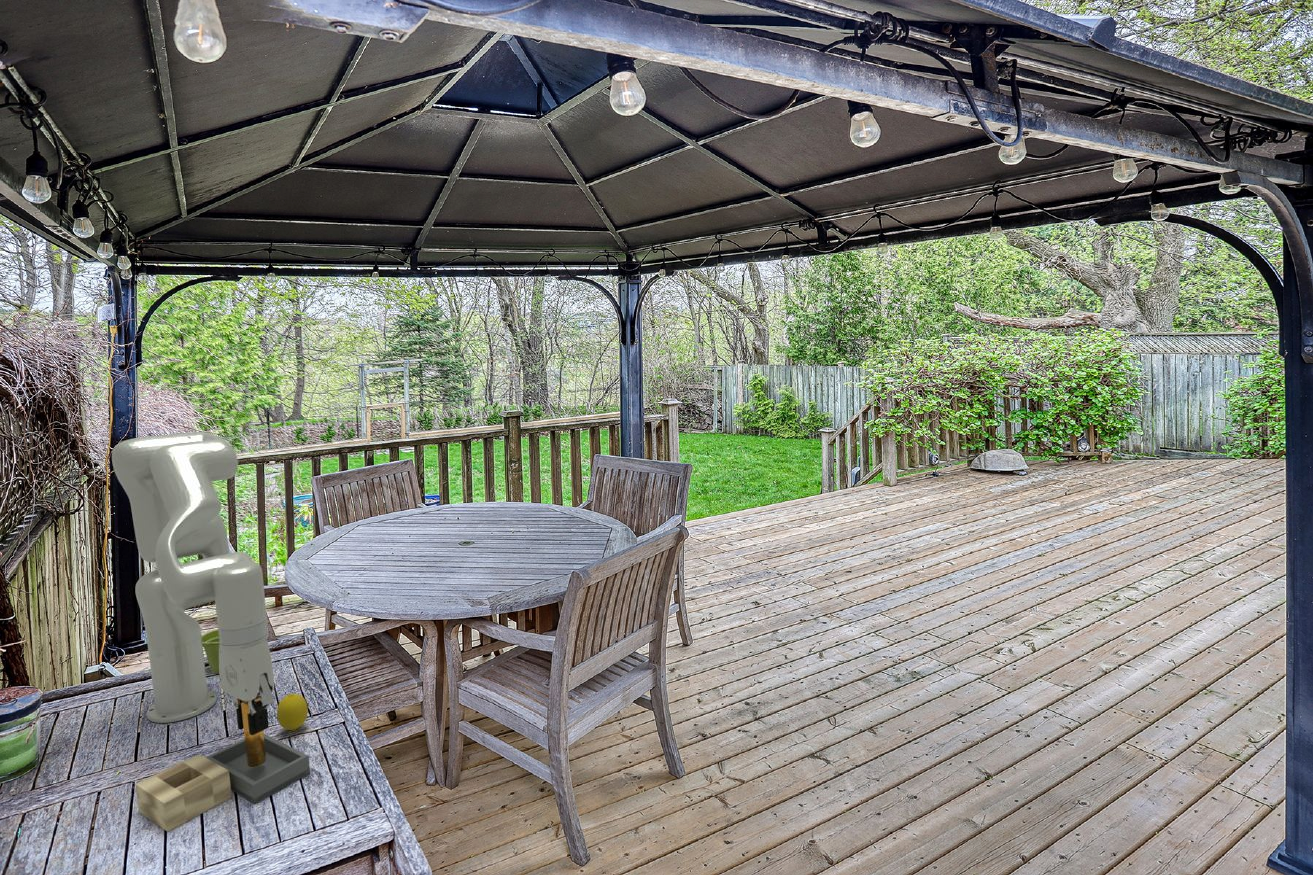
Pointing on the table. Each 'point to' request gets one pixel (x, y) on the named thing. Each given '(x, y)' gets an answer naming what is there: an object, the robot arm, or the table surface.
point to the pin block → (183, 791)
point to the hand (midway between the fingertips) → (253, 727)
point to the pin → (253, 740)
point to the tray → (262, 769)
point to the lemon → (292, 711)
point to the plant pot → (212, 649)
